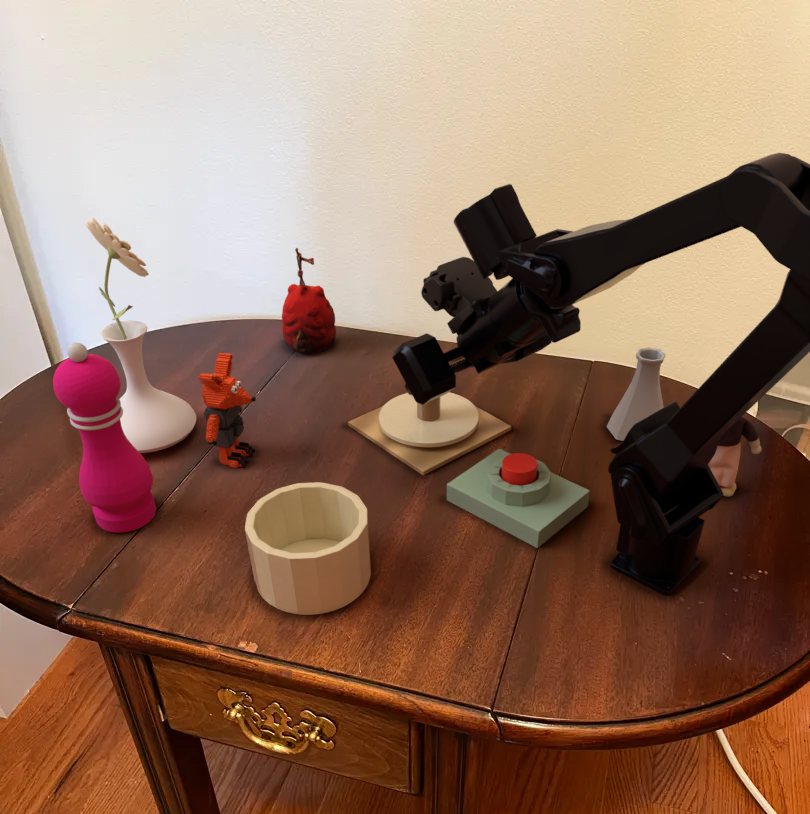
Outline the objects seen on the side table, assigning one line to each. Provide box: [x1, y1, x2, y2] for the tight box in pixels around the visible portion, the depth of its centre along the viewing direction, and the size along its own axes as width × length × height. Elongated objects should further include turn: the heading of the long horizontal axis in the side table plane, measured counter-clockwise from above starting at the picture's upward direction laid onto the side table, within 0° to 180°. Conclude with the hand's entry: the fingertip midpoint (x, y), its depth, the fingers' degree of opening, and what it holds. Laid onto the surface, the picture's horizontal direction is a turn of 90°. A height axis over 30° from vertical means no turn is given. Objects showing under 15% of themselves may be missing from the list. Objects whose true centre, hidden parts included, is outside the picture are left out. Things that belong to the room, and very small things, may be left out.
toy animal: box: [198, 352, 257, 469], centre depth 93 cm, size 8×5×12 cm
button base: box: [446, 448, 591, 549], centre depth 88 cm, size 12×9×4 cm
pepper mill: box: [52, 342, 157, 534], centre depth 83 cm, size 7×7×20 cm
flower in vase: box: [85, 217, 197, 454], centre depth 94 cm, size 13×11×25 cm
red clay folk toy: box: [281, 247, 337, 354], centre depth 114 cm, size 8×7×15 cm
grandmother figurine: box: [708, 416, 763, 497], centre depth 87 cm, size 8×4×13 cm, turn 92°
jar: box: [244, 481, 372, 616], centre depth 79 cm, size 11×11×7 cm
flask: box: [606, 347, 666, 442], centre depth 97 cm, size 7×7×10 cm
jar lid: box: [379, 391, 479, 447], centre depth 99 cm, size 12×12×7 cm
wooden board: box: [347, 391, 512, 476], centre depth 101 cm, size 14×14×1 cm
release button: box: [501, 452, 537, 486], centre depth 87 cm, size 4×4×2 cm
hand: (438, 376), depth 95 cm, fingers open, 9 cm apart
